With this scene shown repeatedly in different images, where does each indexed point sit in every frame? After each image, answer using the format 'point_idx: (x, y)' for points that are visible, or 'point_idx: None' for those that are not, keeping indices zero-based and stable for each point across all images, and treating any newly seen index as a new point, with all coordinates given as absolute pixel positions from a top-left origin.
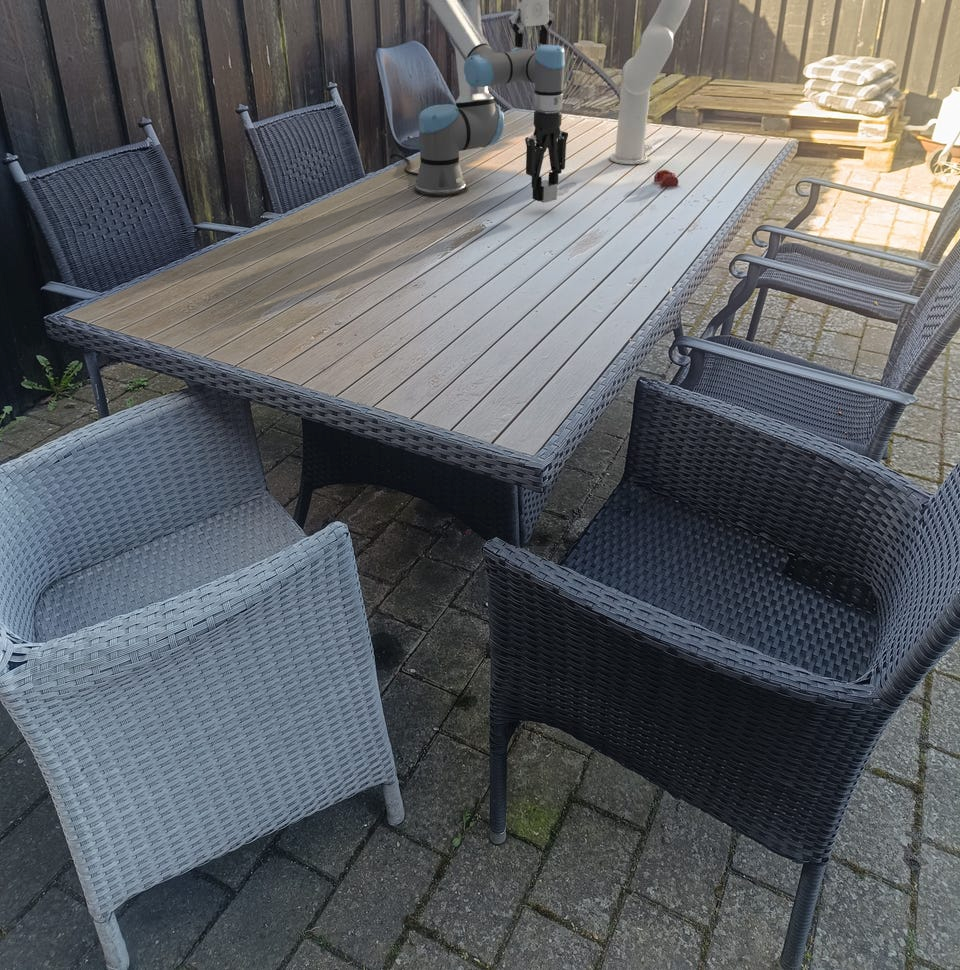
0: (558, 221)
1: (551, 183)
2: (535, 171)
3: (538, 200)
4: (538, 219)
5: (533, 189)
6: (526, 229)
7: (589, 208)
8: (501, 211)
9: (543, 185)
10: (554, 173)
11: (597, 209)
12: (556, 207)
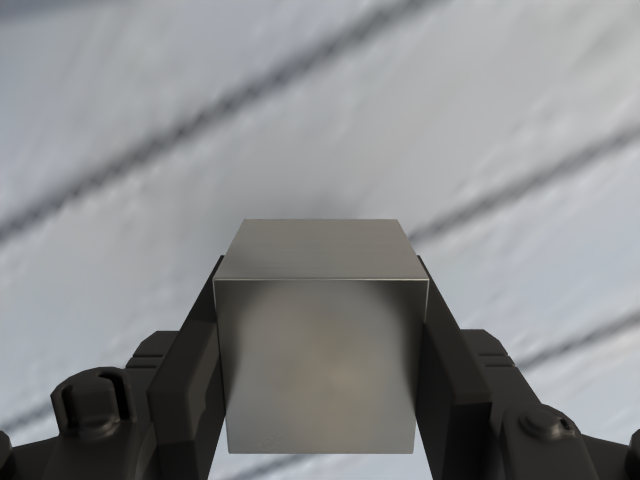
0: None
1: (375, 412)
2: (131, 473)
3: None
4: None
5: (201, 299)
6: (38, 425)
7: (598, 364)
8: (42, 59)
9: (255, 415)
10: (464, 473)
11: (616, 400)
12: (454, 232)
